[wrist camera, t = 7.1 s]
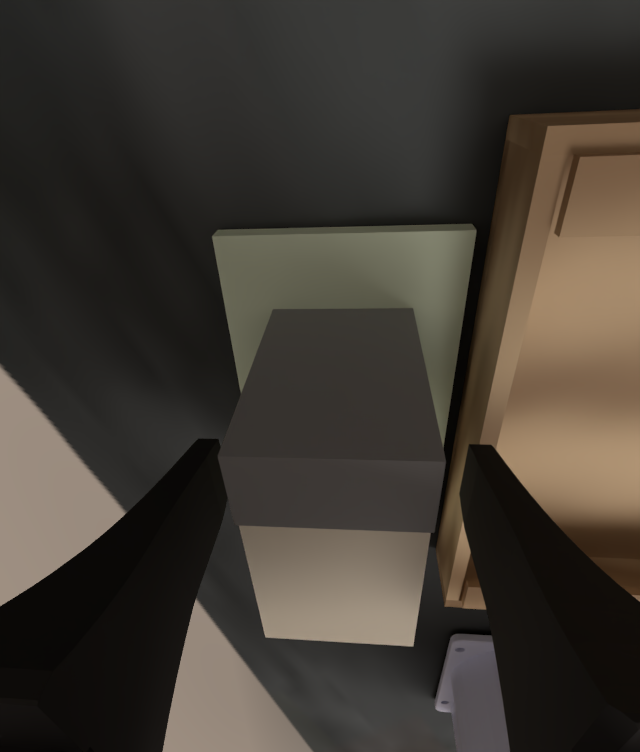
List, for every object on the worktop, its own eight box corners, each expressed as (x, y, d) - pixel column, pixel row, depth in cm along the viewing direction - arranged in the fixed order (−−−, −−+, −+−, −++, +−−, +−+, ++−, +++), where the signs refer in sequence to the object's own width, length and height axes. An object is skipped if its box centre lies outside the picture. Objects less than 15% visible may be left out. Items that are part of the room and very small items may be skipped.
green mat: (429, 513, 19) (431, 525, 18) (266, 507, 19) (263, 519, 19) (472, 223, 12) (476, 230, 11) (217, 229, 12) (211, 236, 12)
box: (399, 476, 17) (415, 650, 12) (292, 473, 17) (262, 641, 12) (413, 308, 13) (445, 461, 8) (272, 309, 13) (217, 456, 8)
